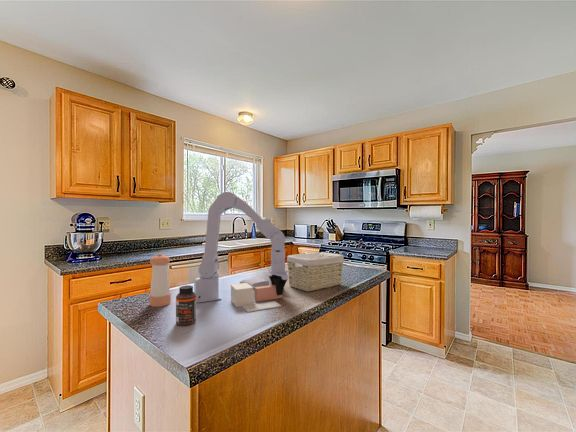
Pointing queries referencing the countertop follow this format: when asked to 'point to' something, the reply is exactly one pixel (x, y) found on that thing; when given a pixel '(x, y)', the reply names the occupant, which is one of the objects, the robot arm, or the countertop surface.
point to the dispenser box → (242, 294)
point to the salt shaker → (160, 281)
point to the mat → (261, 306)
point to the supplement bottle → (185, 306)
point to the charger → (256, 282)
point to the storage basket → (314, 270)
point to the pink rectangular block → (266, 293)
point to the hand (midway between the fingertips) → (278, 293)
